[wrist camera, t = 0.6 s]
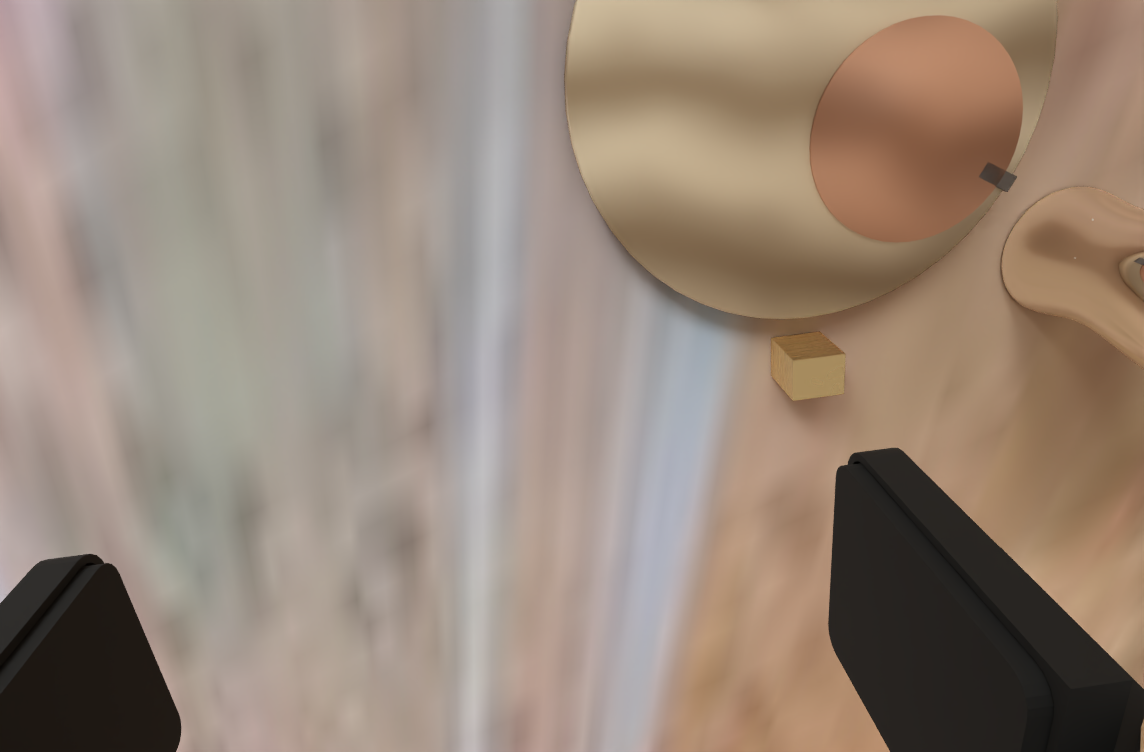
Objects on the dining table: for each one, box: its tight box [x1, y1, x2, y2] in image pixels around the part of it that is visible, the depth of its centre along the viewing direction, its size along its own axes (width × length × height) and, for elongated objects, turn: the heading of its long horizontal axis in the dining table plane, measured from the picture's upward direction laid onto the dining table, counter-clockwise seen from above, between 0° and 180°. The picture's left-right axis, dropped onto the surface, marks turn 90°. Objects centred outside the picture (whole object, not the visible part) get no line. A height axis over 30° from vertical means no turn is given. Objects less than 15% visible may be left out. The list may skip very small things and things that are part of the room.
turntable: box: [564, 0, 1058, 319], centre depth 29 cm, size 20×20×5 cm
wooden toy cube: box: [771, 331, 845, 401], centre depth 35 cm, size 2×2×3 cm
